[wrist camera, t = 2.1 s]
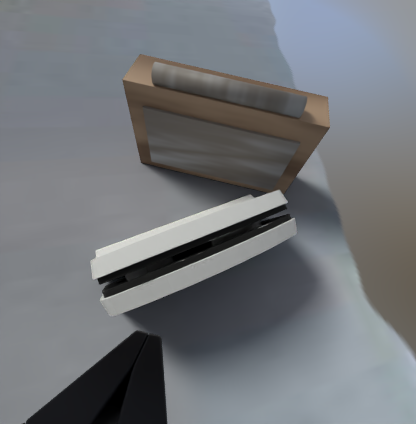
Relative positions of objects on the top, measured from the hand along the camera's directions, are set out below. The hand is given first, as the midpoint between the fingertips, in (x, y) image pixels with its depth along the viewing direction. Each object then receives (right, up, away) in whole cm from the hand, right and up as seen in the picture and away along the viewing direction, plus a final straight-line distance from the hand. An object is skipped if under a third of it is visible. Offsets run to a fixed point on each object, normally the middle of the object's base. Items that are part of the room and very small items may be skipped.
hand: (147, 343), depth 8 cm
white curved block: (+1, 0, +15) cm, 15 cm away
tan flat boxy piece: (+3, +10, +21) cm, 23 cm away
